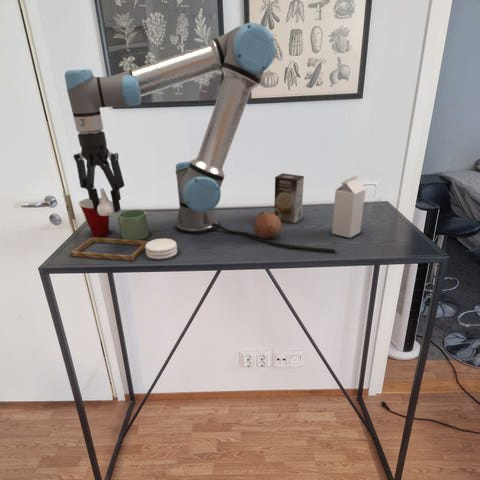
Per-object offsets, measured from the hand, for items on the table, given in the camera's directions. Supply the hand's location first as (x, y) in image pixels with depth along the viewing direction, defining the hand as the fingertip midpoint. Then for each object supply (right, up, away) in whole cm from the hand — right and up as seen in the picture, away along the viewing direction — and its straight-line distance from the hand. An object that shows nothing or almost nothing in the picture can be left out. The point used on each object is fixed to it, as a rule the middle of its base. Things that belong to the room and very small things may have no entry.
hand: (107, 210), depth 134 cm
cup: (+5, -5, +17) cm, 18 cm away
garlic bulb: (0, -1, +1) cm, 1 cm away
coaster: (+17, -14, +2) cm, 22 cm away
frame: (-1, -12, +6) cm, 13 cm away
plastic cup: (-8, -4, +20) cm, 22 cm away
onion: (+51, -7, +11) cm, 53 cm away
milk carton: (+79, -5, +13) cm, 80 cm away
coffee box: (+60, +3, +27) cm, 66 cm away
